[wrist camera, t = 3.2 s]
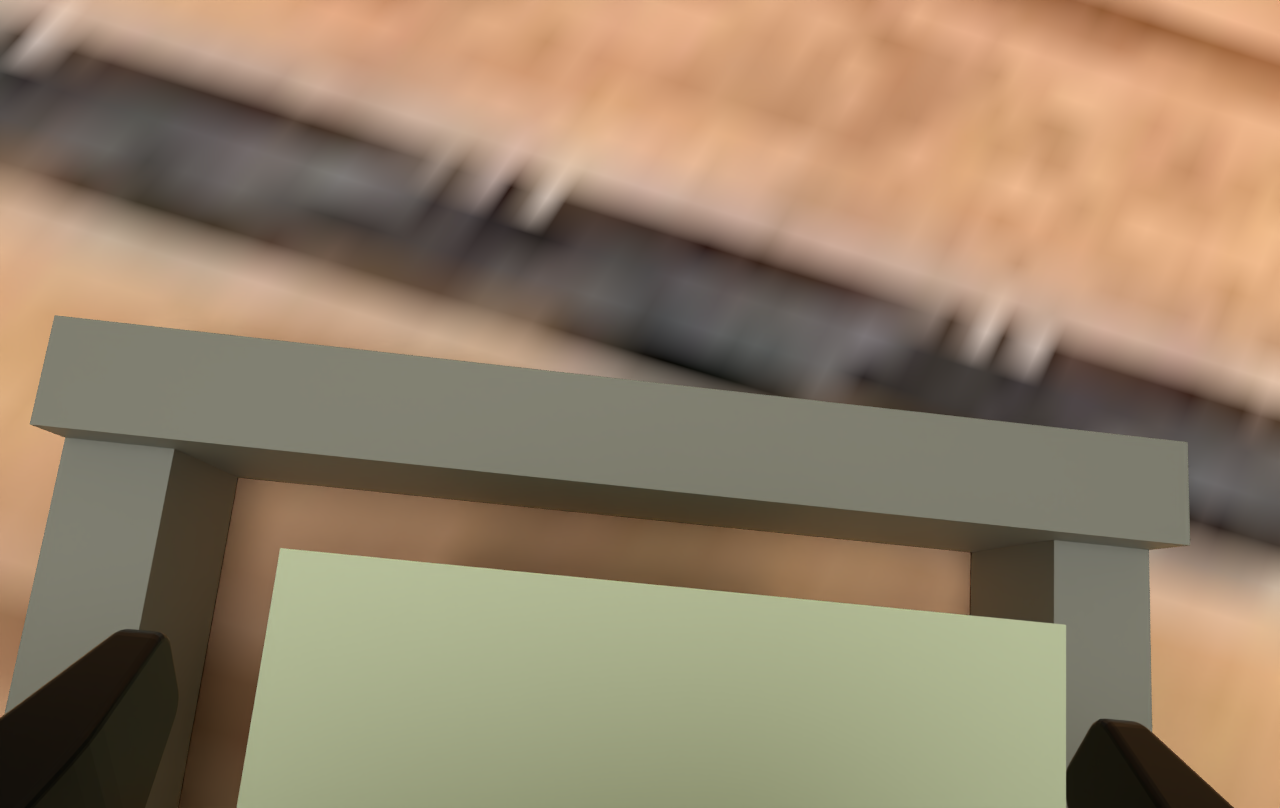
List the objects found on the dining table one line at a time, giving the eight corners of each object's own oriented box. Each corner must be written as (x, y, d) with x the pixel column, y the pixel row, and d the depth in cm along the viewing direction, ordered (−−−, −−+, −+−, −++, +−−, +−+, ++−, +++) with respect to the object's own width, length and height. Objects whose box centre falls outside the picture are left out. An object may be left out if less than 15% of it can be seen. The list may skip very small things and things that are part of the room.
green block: (764, 799, 17) (1065, 1053, 7) (406, 769, 16) (203, 998, 7) (775, 618, 18) (1066, 625, 8) (431, 585, 17) (280, 547, 7)
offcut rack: (1049, 1177, 16) (1212, 1358, 12) (17, 1119, 15) (-170, 1297, 11) (1051, 479, 18) (1186, 441, 15) (165, 383, 17) (55, 314, 13)
